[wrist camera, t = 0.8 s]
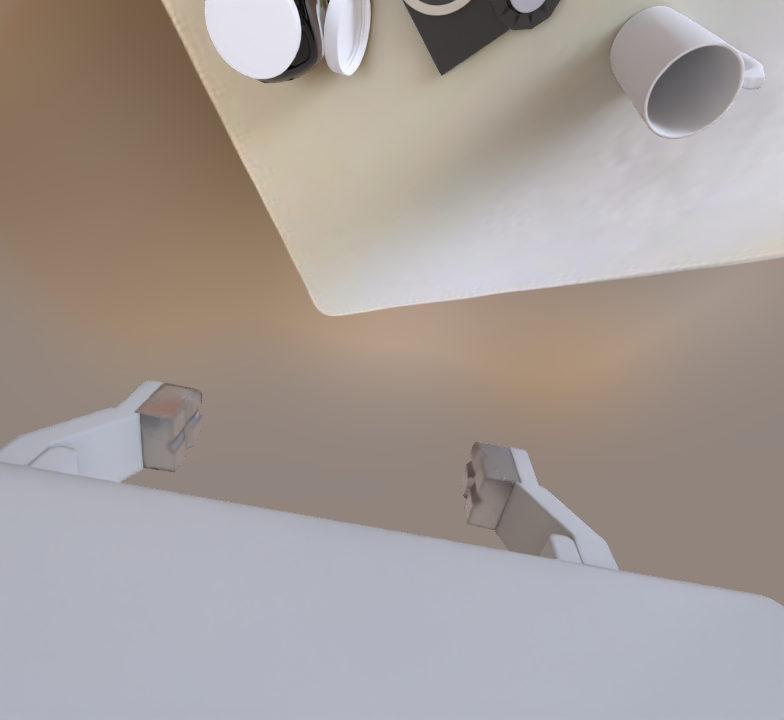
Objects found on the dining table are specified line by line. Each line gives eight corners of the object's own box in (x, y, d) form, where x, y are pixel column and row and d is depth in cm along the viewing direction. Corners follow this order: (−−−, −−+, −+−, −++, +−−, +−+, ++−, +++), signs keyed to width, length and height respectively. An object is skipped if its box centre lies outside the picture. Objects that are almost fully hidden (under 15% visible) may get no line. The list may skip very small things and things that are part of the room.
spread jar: (217, -64, 39) (164, -39, 31) (341, -119, 36) (316, -107, 28) (282, 87, 47) (253, 135, 40) (386, 52, 45) (377, 97, 37)
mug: (598, 88, 46) (632, 141, 38) (616, 5, 41) (661, 46, 33) (705, 80, 45) (763, 133, 37) (738, -6, 40) (814, 34, 32)
